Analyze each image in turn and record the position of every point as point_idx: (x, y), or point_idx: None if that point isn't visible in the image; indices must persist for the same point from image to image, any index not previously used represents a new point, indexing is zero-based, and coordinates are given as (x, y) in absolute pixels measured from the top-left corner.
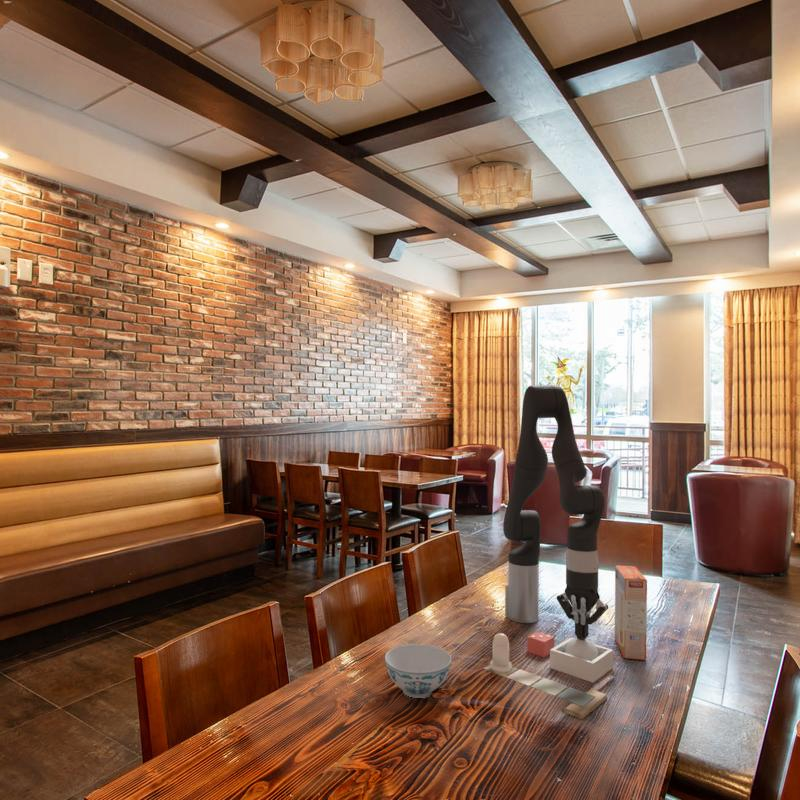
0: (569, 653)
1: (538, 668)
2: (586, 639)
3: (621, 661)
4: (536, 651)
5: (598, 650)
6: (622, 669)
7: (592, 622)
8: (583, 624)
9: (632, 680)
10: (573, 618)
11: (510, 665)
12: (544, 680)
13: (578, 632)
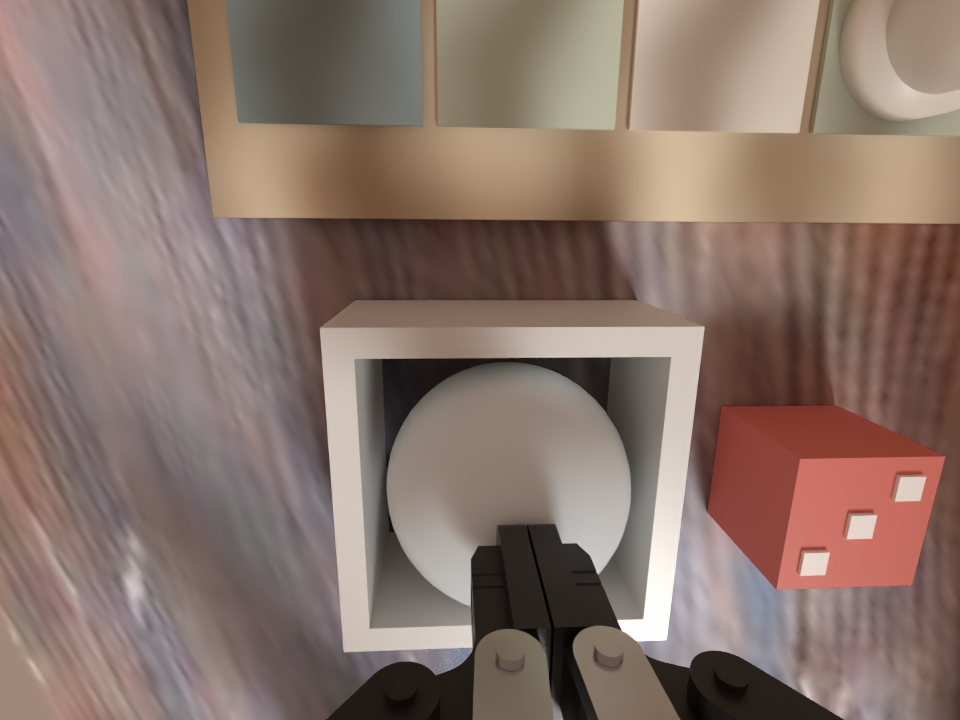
0: (559, 388)
1: (715, 302)
2: None
3: None
4: (805, 422)
5: (443, 608)
6: None
7: (358, 696)
8: (497, 636)
9: (250, 538)
10: (665, 681)
11: (874, 49)
12: (595, 90)
13: (547, 557)
